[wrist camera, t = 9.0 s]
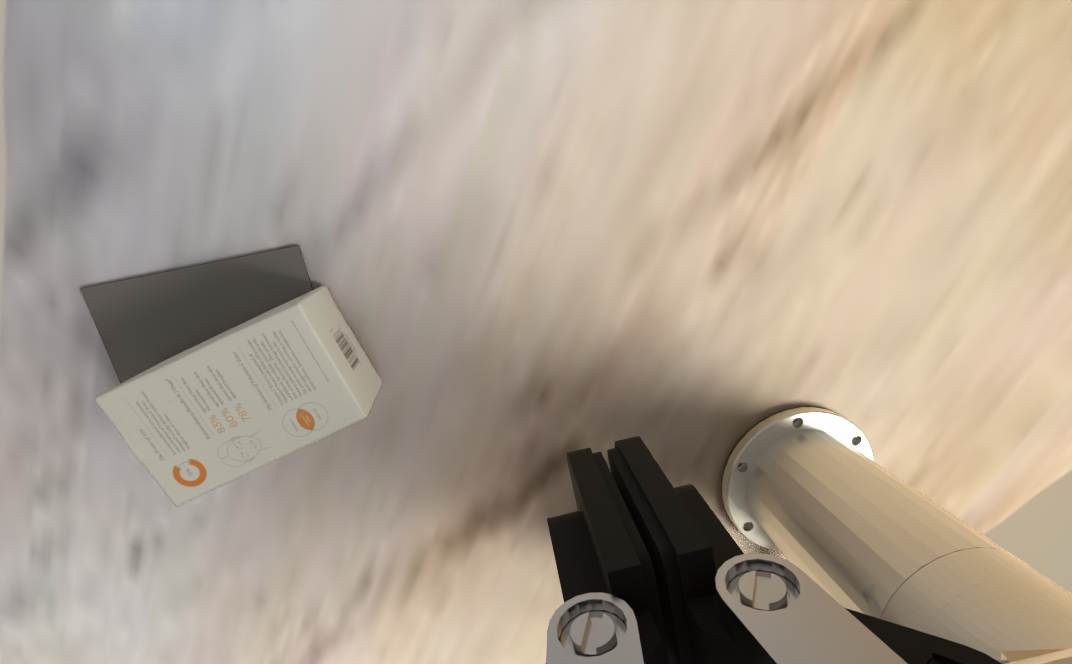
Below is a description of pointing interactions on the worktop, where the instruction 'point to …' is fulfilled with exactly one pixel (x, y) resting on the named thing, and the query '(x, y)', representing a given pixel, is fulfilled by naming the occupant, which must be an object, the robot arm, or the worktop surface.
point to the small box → (245, 397)
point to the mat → (190, 305)
